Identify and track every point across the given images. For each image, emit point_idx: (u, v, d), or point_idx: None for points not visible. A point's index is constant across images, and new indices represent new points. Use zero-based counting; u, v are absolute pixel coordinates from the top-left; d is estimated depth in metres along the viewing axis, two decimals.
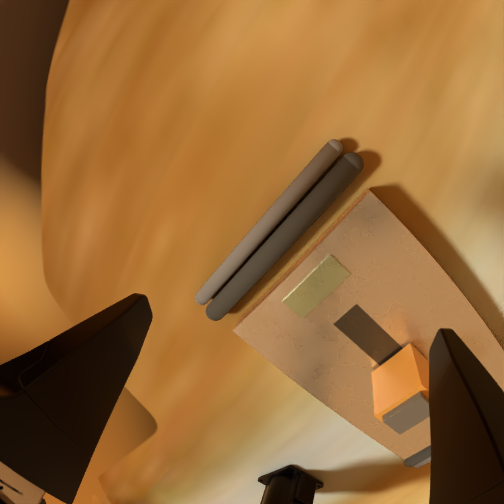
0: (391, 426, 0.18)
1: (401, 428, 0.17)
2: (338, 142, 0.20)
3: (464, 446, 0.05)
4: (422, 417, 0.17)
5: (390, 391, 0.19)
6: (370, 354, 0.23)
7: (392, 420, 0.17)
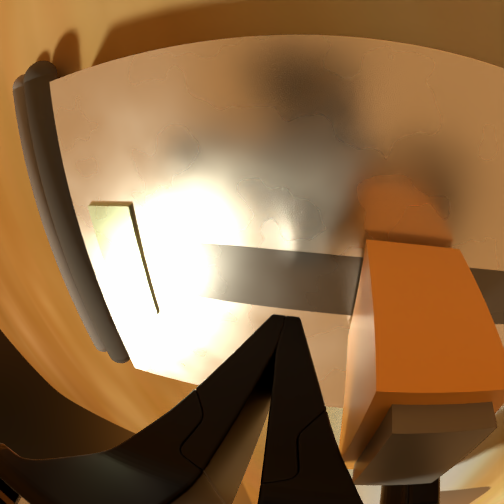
0: (387, 483, 0.06)
1: (420, 478, 0.05)
2: (17, 78, 0.10)
3: None
4: (459, 452, 0.04)
5: (352, 398, 0.07)
6: (308, 307, 0.11)
7: (373, 479, 0.05)
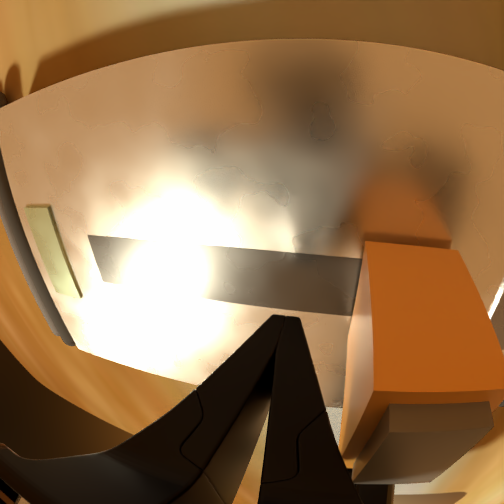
0: (386, 482, 0.06)
1: (419, 477, 0.05)
2: None
3: None
4: (456, 451, 0.04)
5: (351, 398, 0.07)
6: (183, 291, 0.12)
7: (372, 477, 0.06)
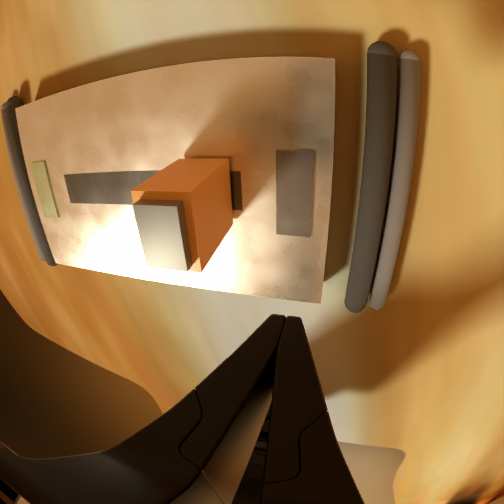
0: (162, 266, 0.14)
1: (175, 261, 0.14)
2: (3, 104, 0.19)
3: None
4: (173, 229, 0.13)
5: None
6: (108, 201, 0.21)
7: (151, 257, 0.14)
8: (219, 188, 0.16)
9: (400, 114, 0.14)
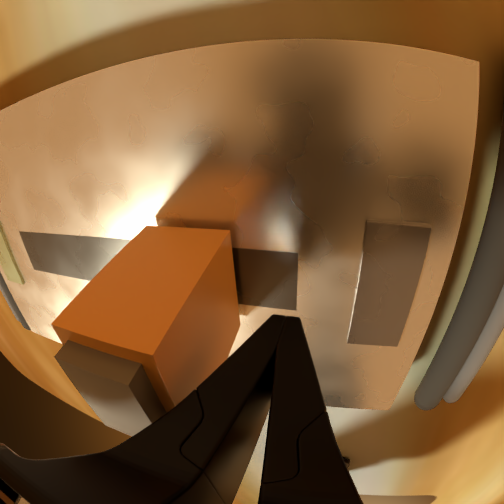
0: (128, 433, 0.07)
1: None
2: None
3: None
4: (132, 407, 0.06)
5: None
6: (81, 276, 0.13)
7: (108, 420, 0.07)
8: (215, 294, 0.09)
9: None
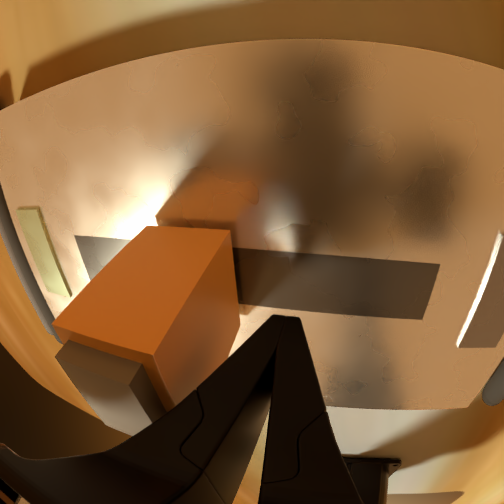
0: (129, 433, 0.07)
1: None
2: None
3: None
4: (132, 407, 0.06)
5: None
6: None
7: (109, 420, 0.07)
8: (215, 293, 0.09)
9: None
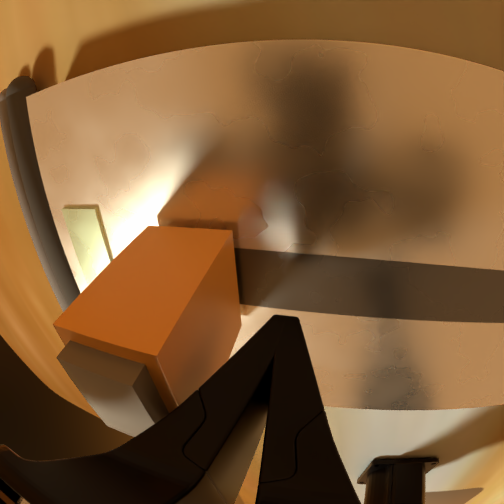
0: (130, 433, 0.07)
1: None
2: (1, 92, 0.10)
3: None
4: (135, 408, 0.06)
5: None
6: (260, 302, 0.11)
7: (110, 421, 0.07)
8: (218, 294, 0.09)
9: None
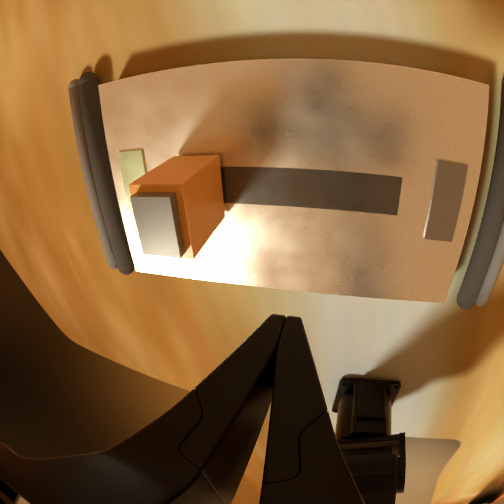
0: (157, 253, 0.16)
1: (169, 249, 0.15)
2: (71, 81, 0.18)
3: None
4: (167, 218, 0.14)
5: None
6: (235, 200, 0.20)
7: (147, 245, 0.15)
8: (210, 182, 0.17)
9: None
